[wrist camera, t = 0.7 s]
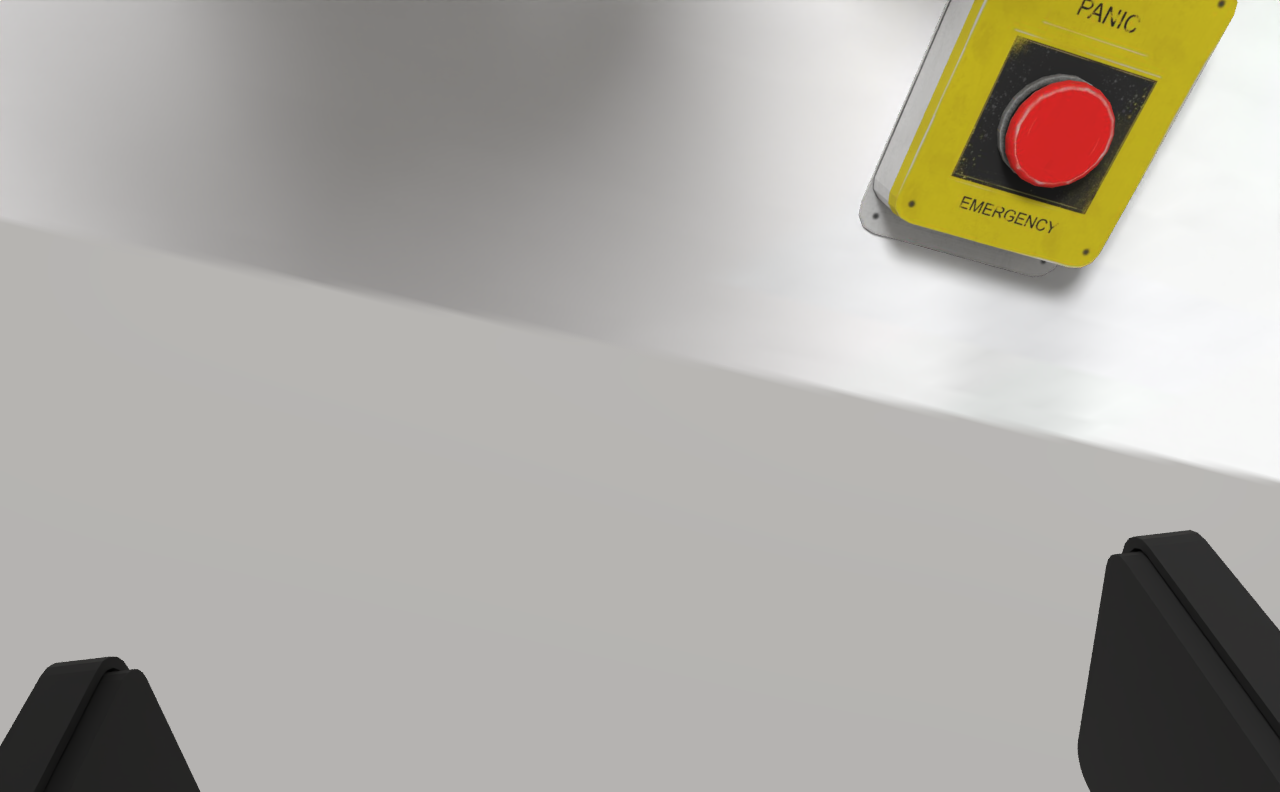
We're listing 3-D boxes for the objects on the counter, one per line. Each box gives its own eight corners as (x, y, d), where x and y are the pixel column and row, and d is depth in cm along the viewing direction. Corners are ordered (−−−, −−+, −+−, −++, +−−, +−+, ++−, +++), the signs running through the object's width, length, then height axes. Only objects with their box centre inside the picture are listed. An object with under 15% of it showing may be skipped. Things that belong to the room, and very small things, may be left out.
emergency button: (874, 265, 40) (1065, -161, 33) (847, 221, 44) (1015, -171, 37) (1086, 322, 42) (1312, -69, 35) (1043, 275, 46) (1239, -87, 39)
